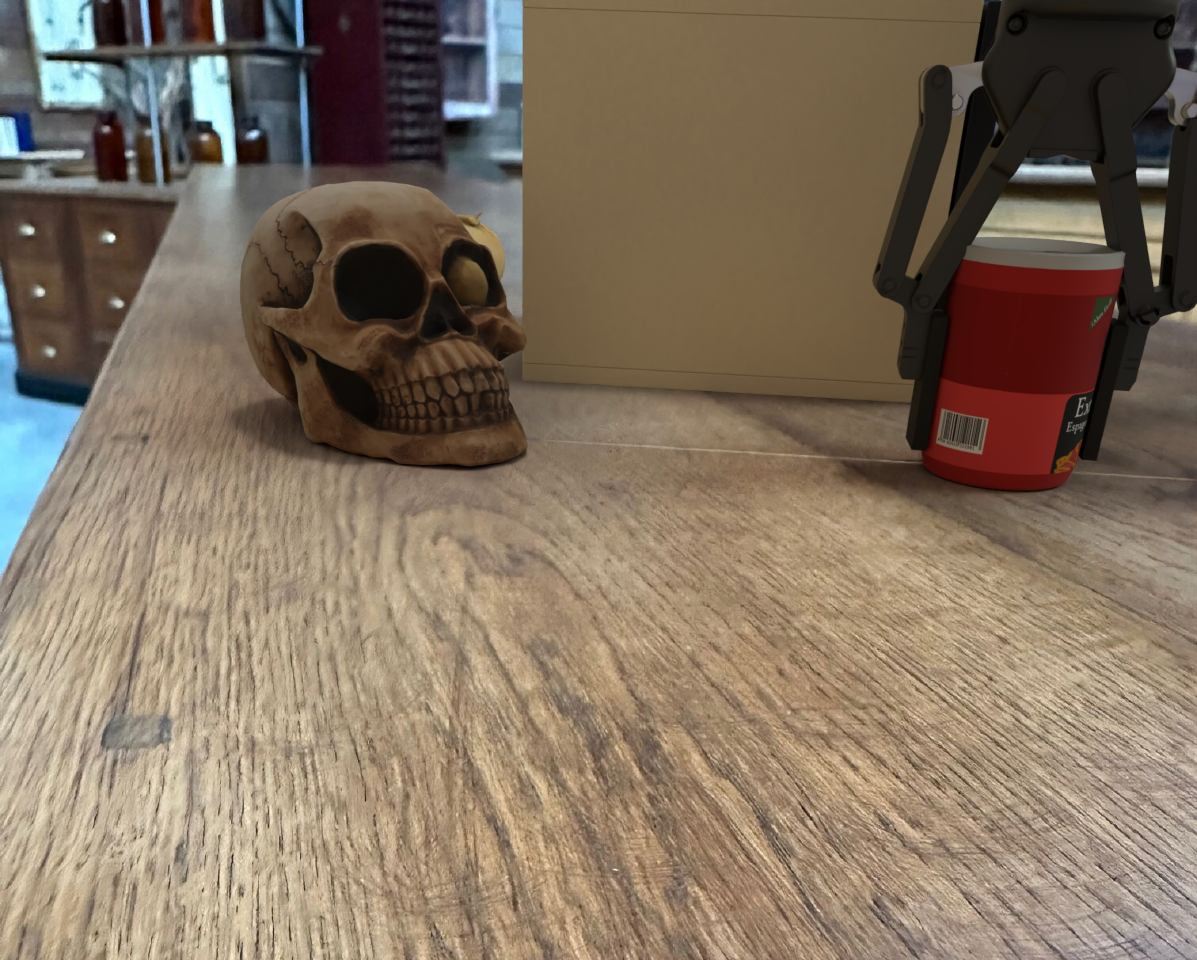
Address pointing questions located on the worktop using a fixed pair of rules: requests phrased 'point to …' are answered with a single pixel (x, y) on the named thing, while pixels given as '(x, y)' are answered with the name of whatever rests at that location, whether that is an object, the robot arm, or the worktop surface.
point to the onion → (485, 239)
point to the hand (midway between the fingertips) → (998, 448)
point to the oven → (725, 189)
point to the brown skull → (383, 324)
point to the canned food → (1020, 360)
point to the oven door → (975, 119)
